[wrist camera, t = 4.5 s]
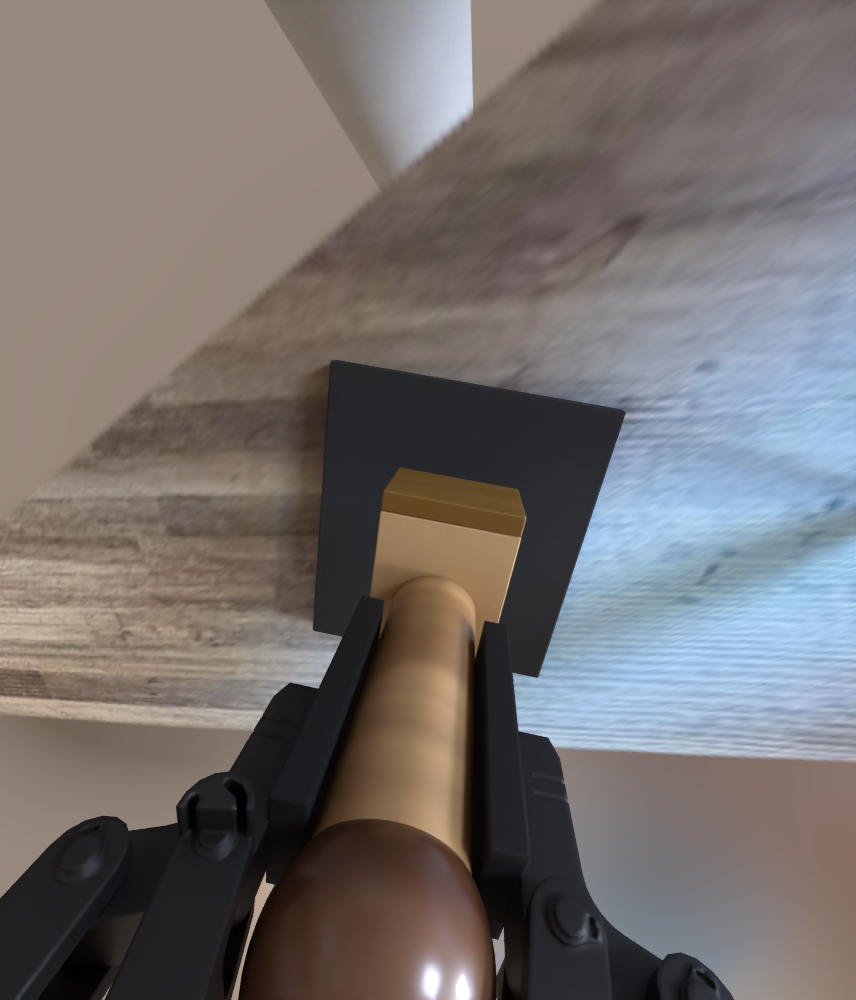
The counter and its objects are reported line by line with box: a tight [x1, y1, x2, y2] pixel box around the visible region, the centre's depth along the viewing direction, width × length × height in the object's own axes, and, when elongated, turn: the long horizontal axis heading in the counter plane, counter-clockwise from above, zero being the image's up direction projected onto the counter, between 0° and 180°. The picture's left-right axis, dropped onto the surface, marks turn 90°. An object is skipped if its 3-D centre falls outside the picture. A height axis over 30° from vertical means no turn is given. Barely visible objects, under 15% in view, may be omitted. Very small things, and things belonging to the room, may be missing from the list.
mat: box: [313, 360, 626, 678], centre depth 22 cm, size 16×14×1 cm
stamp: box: [238, 467, 526, 1000], centre depth 11 cm, size 9×5×14 cm, turn 171°
